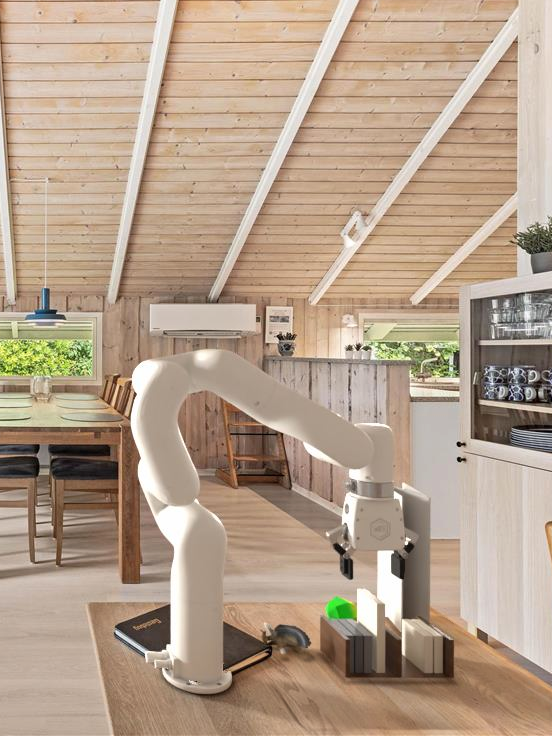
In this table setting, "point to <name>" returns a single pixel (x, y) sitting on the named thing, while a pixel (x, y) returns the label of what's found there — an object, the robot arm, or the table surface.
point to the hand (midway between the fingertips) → (372, 576)
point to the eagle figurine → (286, 638)
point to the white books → (422, 646)
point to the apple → (341, 609)
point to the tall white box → (408, 563)
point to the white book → (373, 625)
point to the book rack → (395, 663)
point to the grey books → (357, 645)
